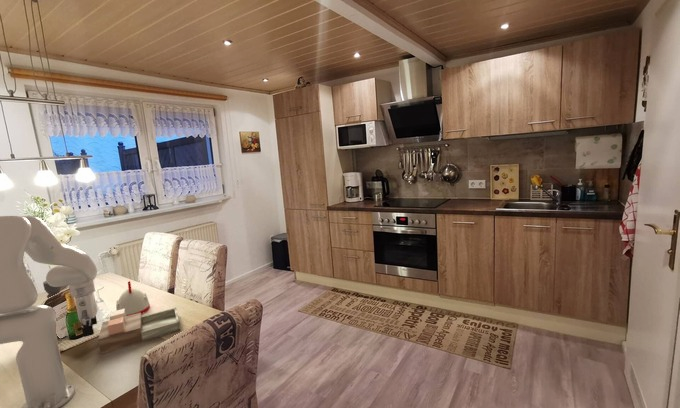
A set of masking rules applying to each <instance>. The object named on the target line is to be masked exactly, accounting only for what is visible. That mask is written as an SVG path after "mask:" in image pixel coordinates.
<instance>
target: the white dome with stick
mask: <svg viewBox="0 0 680 408" xmlns="http://www.w3.org/2000/svg"><path fill="white" fill-rule="evenodd" d="M127 287H128V288H127V289H125V291H123V292H122V293H121V295H120V296H119V299H117V300H116V306H115V307H116V308H115V309H116V310H115V311H117V310H121V309H125V313H126V316H129V315H133V314H137V313H141V315H142V314H144V313H147V312H148V311H149V310H150V309H151V304H150V301H149V298H148V296H147V294H146V293H145V292H144V293H143V291H141V290H140V289H138V288H135V287H132V283H131V281H130V280H129V281H127Z"/></svg>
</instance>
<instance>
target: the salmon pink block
mask: <svg viewBox="0 0 680 408" xmlns="http://www.w3.org/2000/svg"><path fill="white" fill-rule="evenodd" d="M108 321H109V322H108V331H109V335H113V334H116V333H120V332H124V330H125V323H124V317H121V318H118V319H114V320H110V319H109V320H108Z"/></svg>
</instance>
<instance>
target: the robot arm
mask: <svg viewBox="0 0 680 408" xmlns="http://www.w3.org/2000/svg"><path fill="white" fill-rule="evenodd" d="M25 254H26V255H27V256H29V258H30V259H32V260H33V262H36V263H39V264H45V265H50V266H54V267H52V268H51V269H50V270H49V271H47V273H46V276H45V281H47V283H48V284H49V285H50V286H53V287H69V288H68V289H69V292H70V297H71V298H74V301H75V307H76V313H77V317H78V321H79V322H81V331H82V336H83V337H84V338H86V337H89V336H90V337H91V336H92V335H94V333H95V331H94V325H97V324H98V319H97V313H98V311H99V310H98V309H99V308H98V304H97V301H96V297H95V293H94V292H95V291H96V286H95V281H94V280H95V279H96V278H97V275H98V274H97V273H98V270H97V266H96V264H95V262H94V261H93V260H92V258H91V257H90V256H89V255H88V254H87V253H86V252H84V251H82V250H81V249H77V248H75V247H72V246H70V245H66V244H63V243H61V241H60V239H58V237H57V236H56V235H55V234H54V232H53V231H52V230H51V229H50V228H49V226H48V225H47V223H45V221H43V220H42V219H41V217H37V216H33V215H24V216H22V215H21V216H18V215H2V216H1V215H0V345H4V344H10V343H17V342H21V343H22V345H21V346H20V348H19V349H18V351H17V353H16V356H15V360H16V365H17V369H18V372H19V377H20V381H21V385H22V388H23V394H24V398H25V403H23V405H22V407H21V408H61V407H62V406H64V405H65V404H66V403H68V402H69V401H70V400H71V399H72V398H73V397H74V395H75V393H76V390H75V386H73V385H72V384H68V382H67V378H66V374H65V370H64V365H63V360H62V355H61V351H60V347H59V342H58V339H57V334H56V320H57V318H56V312H55V310H54V309H53V308H52V307H51V305H50V306H49V305H45V304H35V303H36V302H37V301H38V291H37V288H36V286H35V283H34V282H33V280H32V277H31V276H30V274H29V272H28V270H27V268H26V265H25V262H24V255H25ZM34 304H35V305H34Z"/></svg>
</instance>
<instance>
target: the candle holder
mask: <svg viewBox="0 0 680 408" xmlns="http://www.w3.org/2000/svg"><path fill="white" fill-rule="evenodd" d="M42 285H43V289H44V291H45V292H46V293H47V295H46V298H47V299H49V297H51V296H53V295H55V294H57V293H59V292H60V291H61V290H62V287H63V286H62V287H53V286H50V285H49V284H48V283H47V281H46V280H45V281H43V282H42ZM57 340H60V338H59V337H58V336H57Z"/></svg>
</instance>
